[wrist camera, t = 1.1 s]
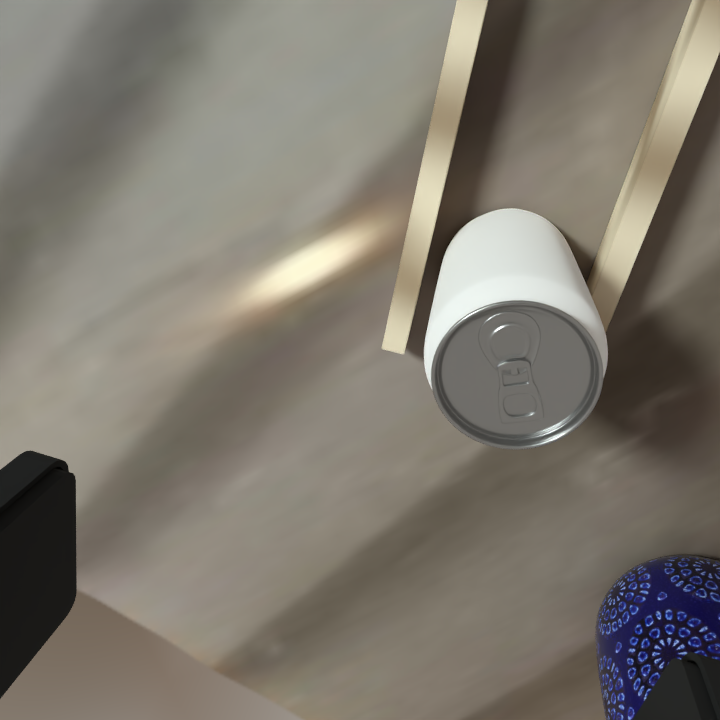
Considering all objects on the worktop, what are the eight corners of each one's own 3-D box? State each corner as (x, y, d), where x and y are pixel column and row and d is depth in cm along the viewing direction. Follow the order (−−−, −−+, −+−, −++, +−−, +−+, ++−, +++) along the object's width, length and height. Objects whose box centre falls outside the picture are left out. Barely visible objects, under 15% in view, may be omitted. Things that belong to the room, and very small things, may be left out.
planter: (600, 519, 36) (642, 689, 27) (801, 543, 35) (926, 736, 25) (572, 644, 41) (598, 827, 31) (747, 671, 40) (832, 875, 30)
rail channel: (512, -243, 23) (518, -316, 18) (802, -197, 22) (882, -263, 17) (387, 333, 34) (372, 375, 29) (574, 379, 33) (588, 429, 28)
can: (565, 193, 29) (609, 271, 18) (578, 318, 31) (624, 450, 21) (430, 221, 31) (400, 307, 20) (454, 337, 33) (438, 468, 23)
